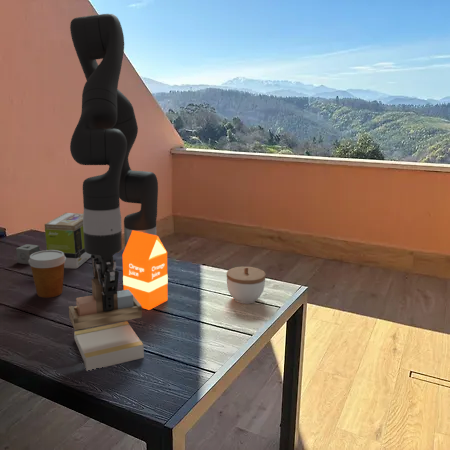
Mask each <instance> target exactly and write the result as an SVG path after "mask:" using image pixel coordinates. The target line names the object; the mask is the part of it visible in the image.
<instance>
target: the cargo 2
mask: <svg viewBox="0 0 450 450" xmlns="http://www.w3.org/2000/svg"><path fill="white" fill-rule="evenodd" d="M117 297H118V309H123V308H129V307H134V305H133V294H132V293H131V292H130V291H129V289H128V290H124V289H122V290H117Z"/></svg>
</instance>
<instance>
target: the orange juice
mask: <svg viewBox="0 0 450 450" xmlns="http://www.w3.org/2000/svg"><path fill="white" fill-rule="evenodd" d="M121 254H122V281H123V282H122V285H123V290H128V289H129V291H130V292H131V293H132V294H133V296H134V297H135V298H136V299H137V301H138V302H139V303H140V304H141V306H142V309H144V310H145V309H146V310H148V311H150V310H152V309H153V308H156V307H157V306H159V305H162V304H164V303H165V302H167V301H168V293H169V292H168V290H169V289H168V282H169V281H168V279H169V277H168V276H169V274H168V251H167V250H166V248H165V246H164V244H163V242H162V241H161V239H160V237H159V236H158V235H157V234H156V235H151V234H147V233H142V232H138V231H133V230H132V233H131V235H130V238H129V240H128V243H127V245H126V248H125V247H124V250H123V253H121Z"/></svg>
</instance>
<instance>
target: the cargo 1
mask: <svg viewBox="0 0 450 450" xmlns="http://www.w3.org/2000/svg"><path fill="white" fill-rule="evenodd" d="M75 303H76V305H75V306H77V314H78V316H79V317H80V316H85V315H91V314H96V313H97V306H96V300H95V299H94V297H93V295H86V296H80V297H76V298H75Z"/></svg>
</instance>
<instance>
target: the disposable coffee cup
mask: <svg viewBox="0 0 450 450" xmlns="http://www.w3.org/2000/svg"><path fill="white" fill-rule="evenodd" d="M65 260H66V257H65V256H64V253H63V252H61V251H58V250H47V249H46V250H40V251H39V252H35V253H33V254H31V255H30V259H29V260H28V262H29V264H30V265H29V264H28V265H29V266H30V269H31V273H32V277H33V283H34V286H35V290H36V295H37V296H38V297H40V298H45V299H47V298H54V297H58V296H60V295H61V294H62V293H63V292H64V290H63V288H64V274H65V268H64V263H65Z"/></svg>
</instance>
